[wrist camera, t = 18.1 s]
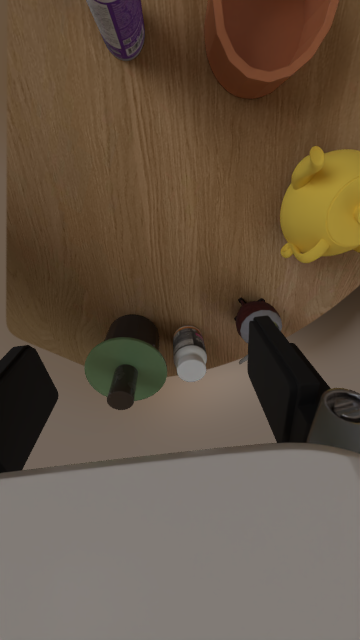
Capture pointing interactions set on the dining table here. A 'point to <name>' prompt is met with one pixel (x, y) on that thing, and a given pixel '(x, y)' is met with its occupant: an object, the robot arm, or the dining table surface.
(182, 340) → the pill bottle
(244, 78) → the bowl
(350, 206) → the teapot
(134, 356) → the lid
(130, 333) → the cup
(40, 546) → the robot arm
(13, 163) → the dining table surface
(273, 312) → the mate gourd
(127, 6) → the container
